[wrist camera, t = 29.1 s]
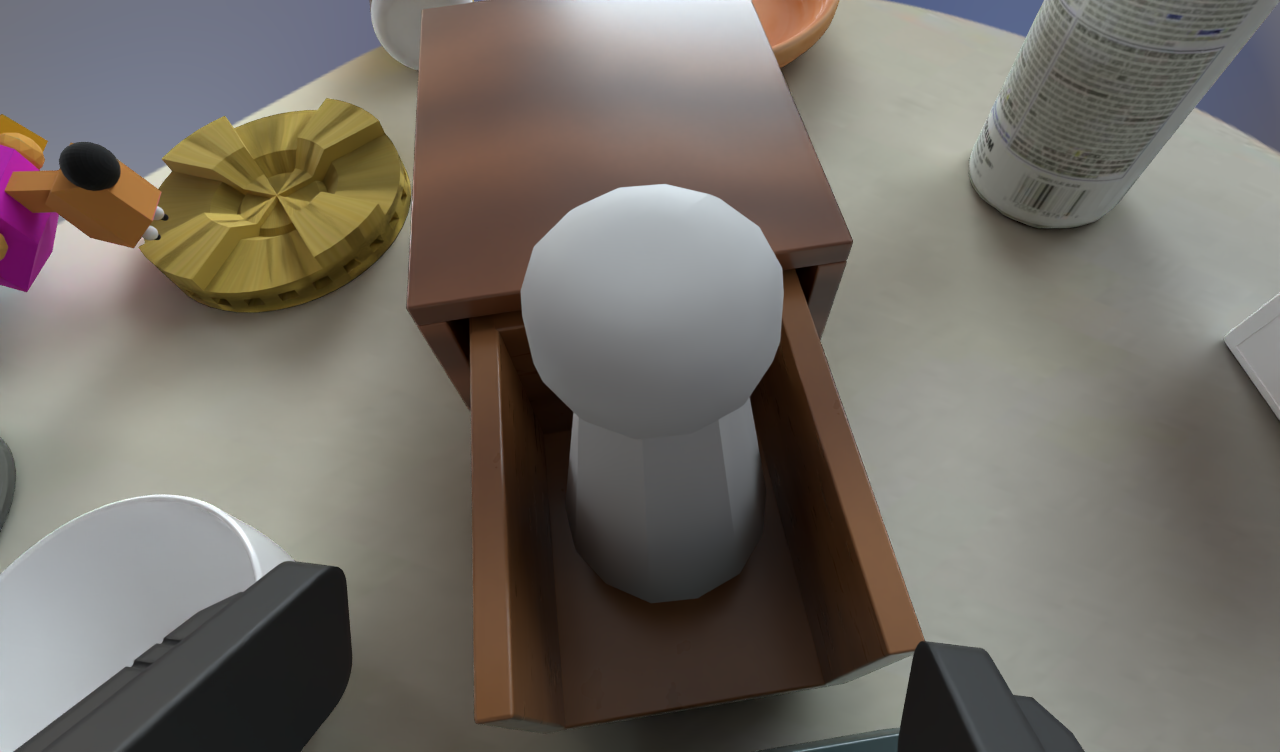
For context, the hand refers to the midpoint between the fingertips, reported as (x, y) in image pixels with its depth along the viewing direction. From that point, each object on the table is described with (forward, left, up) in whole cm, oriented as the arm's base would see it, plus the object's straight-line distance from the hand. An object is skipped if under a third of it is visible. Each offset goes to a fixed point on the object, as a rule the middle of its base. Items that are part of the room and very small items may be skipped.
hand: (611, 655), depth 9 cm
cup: (-14, +3, -13) cm, 19 cm away
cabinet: (+1, +16, -13) cm, 21 cm away
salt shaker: (+1, +5, -11) cm, 12 cm away
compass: (-14, +24, -10) cm, 30 cm away
